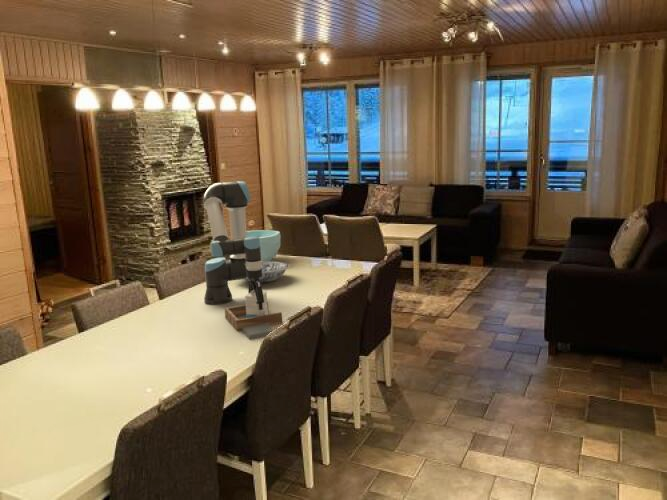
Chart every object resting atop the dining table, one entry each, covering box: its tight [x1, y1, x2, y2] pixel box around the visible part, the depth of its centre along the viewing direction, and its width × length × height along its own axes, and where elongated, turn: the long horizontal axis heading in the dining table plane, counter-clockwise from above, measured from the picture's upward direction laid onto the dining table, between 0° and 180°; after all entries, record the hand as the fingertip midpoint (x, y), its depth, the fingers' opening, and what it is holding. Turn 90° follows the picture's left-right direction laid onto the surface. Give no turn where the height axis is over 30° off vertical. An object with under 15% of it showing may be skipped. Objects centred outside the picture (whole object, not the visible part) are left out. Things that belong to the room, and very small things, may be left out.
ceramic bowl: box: [244, 260, 290, 283], centre depth 350 cm, size 34×34×10 cm
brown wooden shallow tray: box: [224, 301, 283, 332], centre depth 275 cm, size 23×22×5 cm
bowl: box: [246, 229, 282, 261], centre depth 395 cm, size 35×35×22 cm
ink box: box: [244, 290, 269, 318], centre depth 275 cm, size 9×8×13 cm
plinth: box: [242, 323, 275, 340], centre depth 257 cm, size 12×12×2 cm
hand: (257, 312), depth 276 cm, fingers closed on ink box, 11 cm apart
